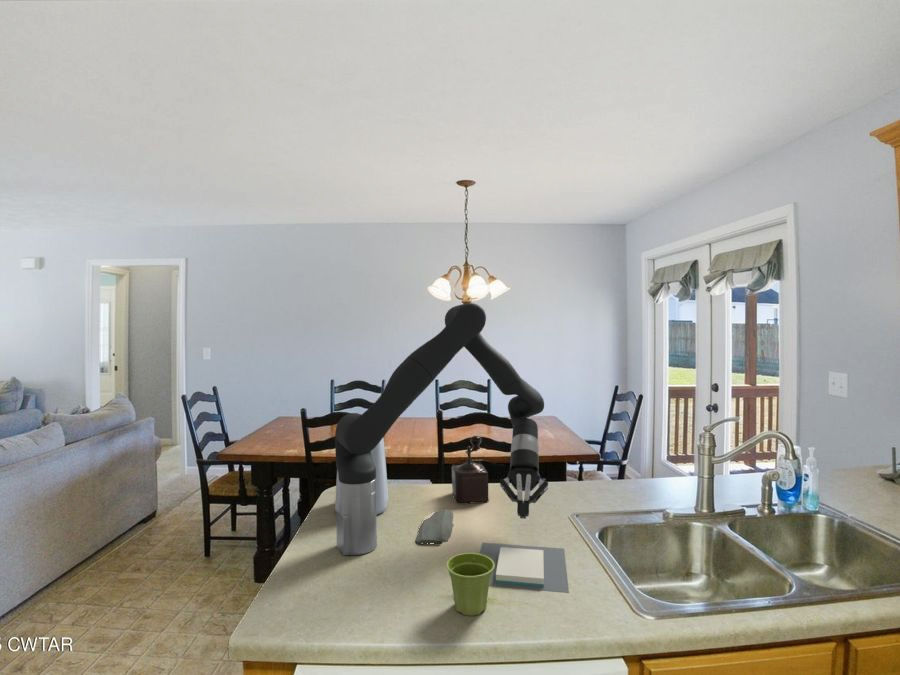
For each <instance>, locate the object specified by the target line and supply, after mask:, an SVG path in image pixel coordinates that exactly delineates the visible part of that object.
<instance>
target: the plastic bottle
mask: <svg viewBox="0 0 900 675" xmlns="http://www.w3.org/2000/svg"><path fill="white" fill-rule="evenodd" d="M385 450H386V449H385V436H384V437H383V438H382V440H381V441H380V442H379V444H378V445H377V446H376V447H375V448H374V449H373V450H372V451H371V456H372V460H373V463H374V465H375V467H376V516H377V515H381V514H383V513H384V512H385V511H386V509H387V505H388V503H389V502H388V501H389V490H388V488H389V486H388V477H387V476H388V473H387V464H386V463H387V461H386V451H385ZM335 485H336V487H335V500H334V503H335V504H334V511H335V512H336V510H337V509H338V508H339V476H338V470H337V469H336V484H335Z"/></svg>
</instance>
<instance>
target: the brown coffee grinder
mask: <svg viewBox="0 0 900 675" xmlns="http://www.w3.org/2000/svg"><path fill="white" fill-rule="evenodd" d="M482 441H483V440H482V438H481V437H480V436H479V435H474V436H473V435H472V437H470V439H469V442H470V444H471V445H472V446H467V447H466V450H465V452H464V453H465V454H466V455H467V461H466V462H464V463H462V464H460V465H459V464H457V465H452V466H451V485H452V497H453V496H454V497H453V498H455V499H454V501H455V500H456V501H455V502H457V503H467V504H472V503H471V502H482V503H488V502H487V501H489V502H490V499H489V472H488V471H487V469H486V468H485V466H484V465H483V464H482V463H481V461H478V463H477V462H474V461H472V459H471V454H472V453H473V452H477V451H478V450H481V447H480V445H481V443H482ZM457 503H456V504H457Z"/></svg>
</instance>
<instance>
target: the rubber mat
mask: <svg viewBox="0 0 900 675" xmlns="http://www.w3.org/2000/svg"><path fill="white" fill-rule="evenodd" d="M500 547H507V548H520V549H533V550H543V559H544V587H537V586H526V585H515V584H503V583H496V570H497V565H498V559H499V553H500ZM479 554H482V555H485V556H487V557H489V558H491V559H492V560H493V562H494V564H495V567H494V570H493V571H492V575H491V577H490V582H489V587H499V588H510V589H520V590H521V589H523V590H531V591H532V590H533V591H543V592H553V593H566V594H569V593H570V589H569V582H568V571H567V564H566V554H565V548H561V547H550V546H549V547H545V546H533V545H521V544H508V543H493V542H492V543H491V542H482V544H481V546H480V551H479Z"/></svg>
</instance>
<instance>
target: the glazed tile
mask: <svg viewBox="0 0 900 675" xmlns="http://www.w3.org/2000/svg"><path fill="white" fill-rule="evenodd" d="M496 583H503V584H515V585H526V586H537V587H544V559H543V550H533V549H520V548H507V547H500V553H499V559H498V565H497V570H496Z"/></svg>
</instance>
